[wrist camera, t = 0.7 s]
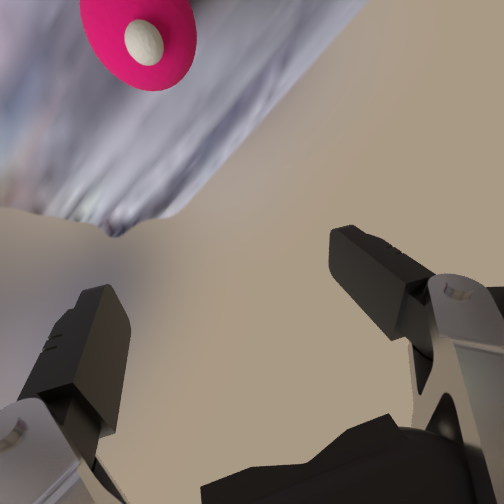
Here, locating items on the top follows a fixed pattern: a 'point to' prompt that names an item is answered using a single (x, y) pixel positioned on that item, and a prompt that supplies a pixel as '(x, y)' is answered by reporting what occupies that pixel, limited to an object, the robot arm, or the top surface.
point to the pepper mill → (142, 39)
